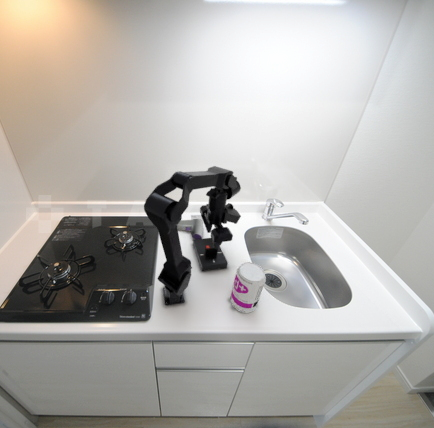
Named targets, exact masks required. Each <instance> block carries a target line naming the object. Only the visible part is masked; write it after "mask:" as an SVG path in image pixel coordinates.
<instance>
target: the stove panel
mask: <svg viewBox="0 0 434 428" xmlns="http://www.w3.org/2000/svg"><path fill="white" fill-rule="evenodd" d="M210 245H213V242H212V239H211V237H203V238H202V239H192V247H193V250H194V253H195V257H196V259H197V263H198V266H199V268H200V271H201V272H208V271H209V272H210V271H216V270H223V269H228V265H229V264H228V263H229V261H228V260H227V257H226V256H225V254H224V252H223V250H222V248H221V245H220V246H219V248H218V251H217V255H210V256H206V255H205V246H210Z"/></svg>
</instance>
